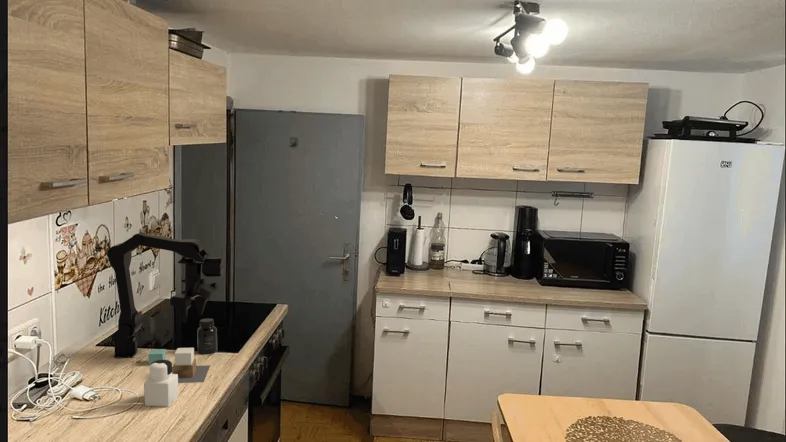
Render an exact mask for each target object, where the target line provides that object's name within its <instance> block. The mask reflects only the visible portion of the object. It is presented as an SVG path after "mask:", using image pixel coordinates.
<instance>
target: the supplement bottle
mask: <svg viewBox="0 0 786 442" xmlns="http://www.w3.org/2000/svg"><path fill="white" fill-rule="evenodd" d="M214 325H215V322H214V319H213V318H202V319H200V320H199V327H198V328H197V331H196V333H197V334H196V336H197V342H196V344H197V354H200V355H203V356H205V355H212V354H215V353H216V352H218V329H217V327H216V326H214Z"/></svg>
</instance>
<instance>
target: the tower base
mask: <svg viewBox="0 0 786 442" xmlns="http://www.w3.org/2000/svg"><path fill="white" fill-rule="evenodd" d="M196 366H197V359H196V358H194V360H193V362H192V365H177V366H175V363H174V364H172V367H173V374H178V378H192V377H193V376H194V374H195V372H196Z"/></svg>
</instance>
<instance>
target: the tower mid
mask: <svg viewBox="0 0 786 442" xmlns="http://www.w3.org/2000/svg"><path fill="white" fill-rule="evenodd" d="M194 359H195V347H178V348H176V350H175V352H174V364H175V366H177V365H192V362H193V360H194Z"/></svg>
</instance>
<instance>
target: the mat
mask: <svg viewBox="0 0 786 442" xmlns="http://www.w3.org/2000/svg"><path fill="white" fill-rule="evenodd" d="M210 367H211V365H196V372H195V374H194V376H193V377H192V378H178V384H186V383H187V384H188V383H189V384H191V383H194V384H195V383H204V382H205V380H206V377H207V375H208V372H209V370H210ZM172 374H173V366H172Z"/></svg>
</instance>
